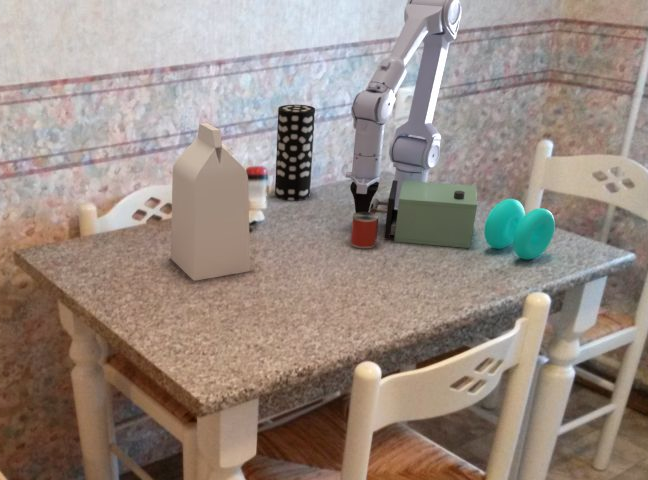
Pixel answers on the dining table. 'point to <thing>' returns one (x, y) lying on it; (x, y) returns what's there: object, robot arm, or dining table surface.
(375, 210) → the open drawer with handle
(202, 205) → the milk
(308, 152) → the spotted tube
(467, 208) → the green box with knob
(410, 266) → the dining table surface
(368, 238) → the can
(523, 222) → the turquoise yo-yo
